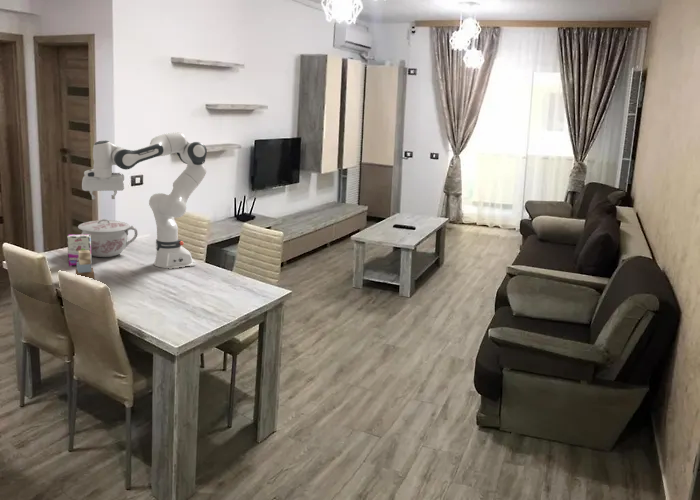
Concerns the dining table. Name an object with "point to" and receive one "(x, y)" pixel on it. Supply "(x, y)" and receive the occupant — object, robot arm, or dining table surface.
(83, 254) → the maple block
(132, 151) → the robot arm
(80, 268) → the slate block
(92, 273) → the walnut block
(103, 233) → the chamber pot
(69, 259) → the candy bar box
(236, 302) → the dining table surface
